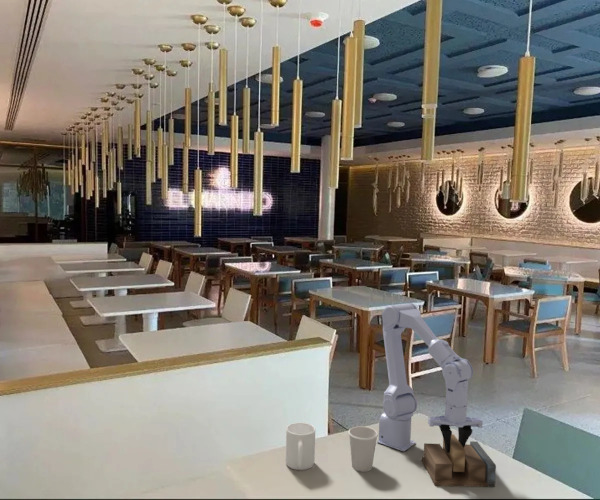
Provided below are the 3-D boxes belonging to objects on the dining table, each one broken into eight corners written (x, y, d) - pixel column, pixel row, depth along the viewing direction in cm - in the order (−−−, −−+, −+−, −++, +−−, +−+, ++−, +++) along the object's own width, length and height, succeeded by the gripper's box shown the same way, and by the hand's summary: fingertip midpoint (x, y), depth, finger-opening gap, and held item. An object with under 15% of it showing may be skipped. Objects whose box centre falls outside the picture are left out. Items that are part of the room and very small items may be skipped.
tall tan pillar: (453, 471, 135) (454, 449, 135) (442, 454, 145) (443, 434, 145) (464, 471, 135) (465, 450, 135) (452, 454, 145) (453, 434, 145)
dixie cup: (342, 469, 140) (343, 434, 140) (353, 456, 148) (354, 423, 147) (370, 476, 137) (372, 441, 136) (380, 464, 144) (382, 430, 143)
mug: (315, 478, 135) (316, 441, 134) (284, 477, 135) (285, 440, 134) (314, 457, 147) (315, 423, 146) (285, 456, 147) (286, 422, 146)
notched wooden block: (434, 485, 133) (435, 463, 133) (421, 460, 147) (422, 440, 147) (494, 487, 133) (495, 465, 133) (476, 461, 147) (477, 441, 147)
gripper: (433, 408, 135) (431, 457, 136) (487, 409, 135) (485, 458, 136) (427, 398, 142) (425, 445, 143) (478, 400, 142) (475, 446, 143)
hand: (453, 451), depth 140 cm, fingers closed on tall tan pillar, 3 cm apart
